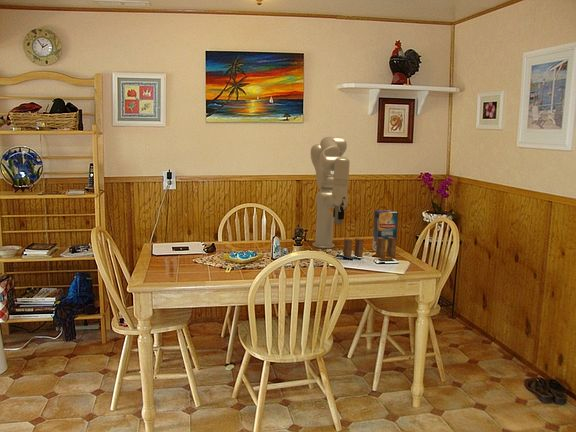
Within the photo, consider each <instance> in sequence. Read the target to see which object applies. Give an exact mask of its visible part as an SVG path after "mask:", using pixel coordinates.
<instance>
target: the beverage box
mask: <svg viewBox="0 0 576 432" xmlns="http://www.w3.org/2000/svg"><path fill="white" fill-rule="evenodd" d="M373 220H374V221H373V233H372V246H371V247H372V250H373V251H375V252H376V248H377V237H381V238H384V239H386V241H385V252H386V253H387V244H388V237H393V238H395V239H396V240H397V233H398V232H397V231H398V220H399V212H398V211H395V210H385V209H384V210H374V219H373Z"/></svg>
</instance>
